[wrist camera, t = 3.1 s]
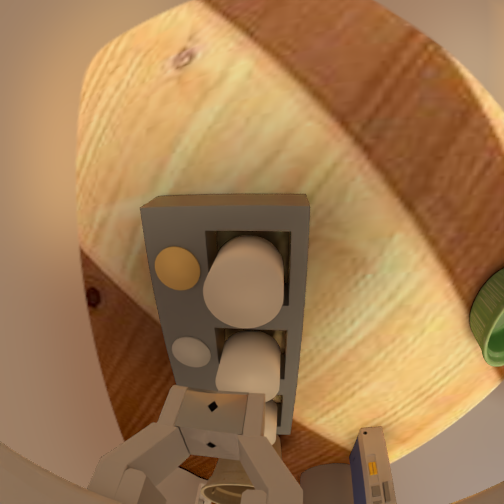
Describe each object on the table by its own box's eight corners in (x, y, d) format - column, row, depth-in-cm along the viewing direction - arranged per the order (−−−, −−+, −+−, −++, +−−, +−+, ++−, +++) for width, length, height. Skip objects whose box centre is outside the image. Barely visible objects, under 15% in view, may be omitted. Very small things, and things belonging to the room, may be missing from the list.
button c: (282, 297, 19) (282, 329, 16) (218, 295, 20) (207, 326, 17) (284, 235, 18) (284, 260, 14) (213, 234, 18) (199, 258, 15)
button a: (276, 421, 25) (274, 450, 22) (231, 418, 25) (226, 447, 22) (278, 394, 23) (276, 426, 20) (228, 391, 24) (222, 422, 20)
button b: (279, 372, 22) (278, 405, 19) (226, 369, 22) (218, 402, 19) (281, 331, 20) (280, 365, 17) (221, 328, 21) (212, 361, 18)
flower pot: (204, 442, 32) (191, 498, 24) (228, 407, 28) (214, 477, 20) (272, 459, 33) (268, 514, 25) (307, 428, 29) (308, 494, 21)
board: (290, 411, 28) (290, 436, 25) (195, 405, 29) (189, 428, 26) (305, 194, 19) (310, 207, 16) (158, 196, 20) (138, 208, 17)
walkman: (368, 454, 31) (378, 528, 20) (349, 456, 32) (355, 532, 21) (382, 424, 28) (399, 511, 17) (360, 427, 29) (373, 516, 18)
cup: (321, 460, 32) (323, 522, 23) (366, 465, 33) (373, 521, 24) (290, 480, 36) (288, 534, 27) (333, 485, 36) (335, 535, 27)
